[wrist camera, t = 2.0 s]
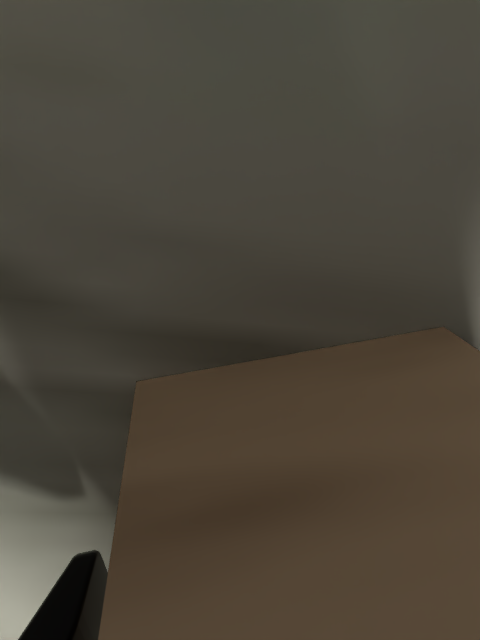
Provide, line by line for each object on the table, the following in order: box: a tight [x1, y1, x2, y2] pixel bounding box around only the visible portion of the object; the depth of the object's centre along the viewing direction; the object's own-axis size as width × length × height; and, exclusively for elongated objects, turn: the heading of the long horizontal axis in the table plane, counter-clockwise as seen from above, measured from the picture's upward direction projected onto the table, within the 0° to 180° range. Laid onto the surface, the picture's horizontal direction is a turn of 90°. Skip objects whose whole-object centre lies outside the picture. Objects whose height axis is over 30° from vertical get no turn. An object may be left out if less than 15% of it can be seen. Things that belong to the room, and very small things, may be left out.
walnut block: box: [98, 327, 480, 640], centre depth 6 cm, size 6×6×6 cm
